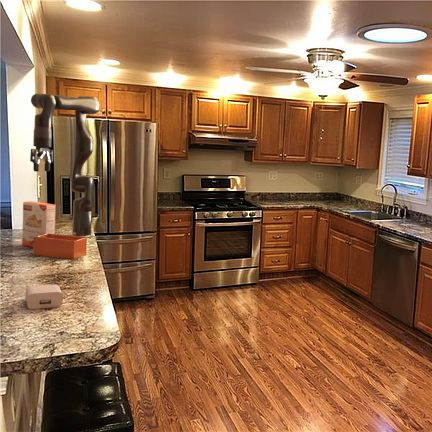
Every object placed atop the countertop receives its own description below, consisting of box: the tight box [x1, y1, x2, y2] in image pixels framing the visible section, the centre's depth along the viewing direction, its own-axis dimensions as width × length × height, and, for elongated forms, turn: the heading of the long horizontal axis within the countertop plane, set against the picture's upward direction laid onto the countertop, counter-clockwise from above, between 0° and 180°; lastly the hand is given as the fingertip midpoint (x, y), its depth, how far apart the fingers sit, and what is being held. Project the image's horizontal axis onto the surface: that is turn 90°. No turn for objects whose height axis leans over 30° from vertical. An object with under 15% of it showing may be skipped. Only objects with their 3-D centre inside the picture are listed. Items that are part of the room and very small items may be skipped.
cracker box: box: [21, 200, 57, 248], centre depth 217 cm, size 14×6×21 cm, turn 71°
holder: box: [32, 233, 88, 260], centre depth 207 cm, size 11×19×8 cm, turn 85°
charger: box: [25, 283, 63, 310], centre depth 145 cm, size 5×9×15 cm
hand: (41, 171), depth 220 cm, fingers open, 8 cm apart
